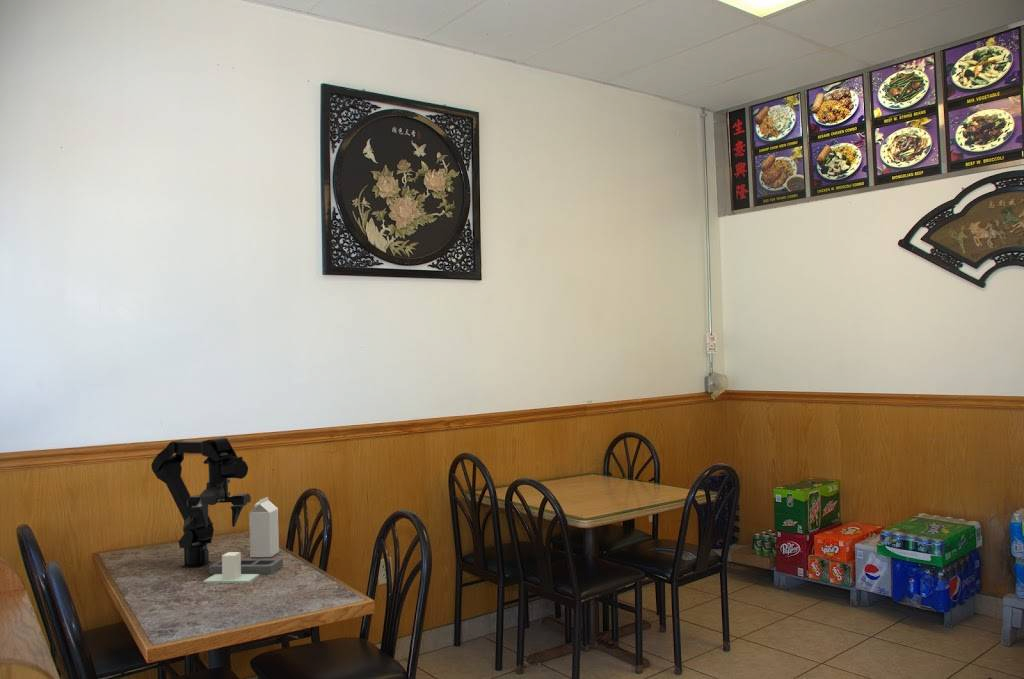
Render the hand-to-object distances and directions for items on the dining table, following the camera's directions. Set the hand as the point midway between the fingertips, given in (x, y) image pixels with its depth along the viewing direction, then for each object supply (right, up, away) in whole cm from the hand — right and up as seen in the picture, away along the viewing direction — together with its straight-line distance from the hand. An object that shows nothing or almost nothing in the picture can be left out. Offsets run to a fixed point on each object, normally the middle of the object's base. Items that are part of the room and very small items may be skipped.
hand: (219, 527), depth 246 cm
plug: (+9, -12, -13) cm, 20 cm away
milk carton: (+9, -13, +15) cm, 22 cm away
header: (+10, -13, -4) cm, 16 cm away
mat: (+9, -13, -13) cm, 20 cm away
